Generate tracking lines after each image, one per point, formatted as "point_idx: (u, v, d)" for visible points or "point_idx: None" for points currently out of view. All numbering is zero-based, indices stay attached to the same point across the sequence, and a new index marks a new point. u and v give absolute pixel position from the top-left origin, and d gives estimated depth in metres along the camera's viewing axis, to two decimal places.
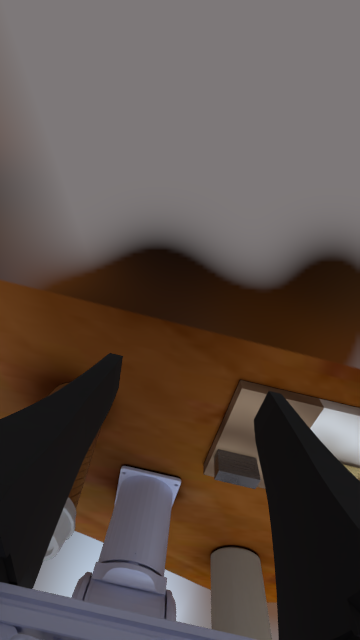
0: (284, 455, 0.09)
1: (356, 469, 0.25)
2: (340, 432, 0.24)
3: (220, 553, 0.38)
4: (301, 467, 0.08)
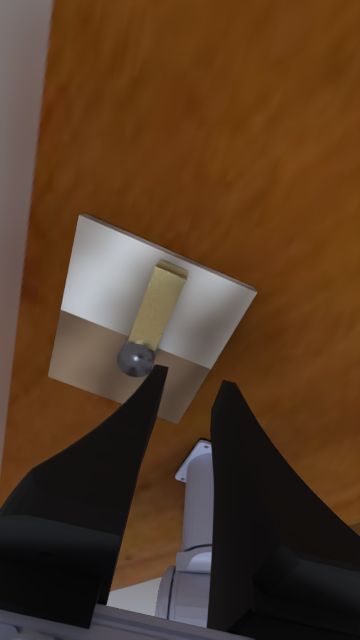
0: (227, 442, 0.09)
1: None
2: (97, 291, 0.19)
3: None
4: (237, 452, 0.08)
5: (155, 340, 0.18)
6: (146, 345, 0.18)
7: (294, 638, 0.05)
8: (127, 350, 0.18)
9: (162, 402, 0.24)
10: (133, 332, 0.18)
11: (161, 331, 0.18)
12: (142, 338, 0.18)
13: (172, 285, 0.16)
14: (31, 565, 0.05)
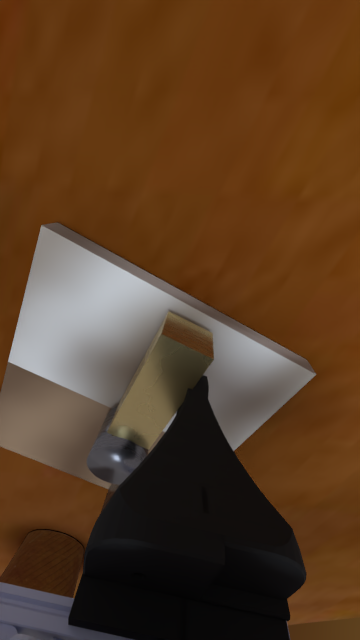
0: None
1: None
2: (66, 343, 0.12)
3: None
4: None
5: (151, 436, 0.11)
6: (136, 441, 0.12)
7: (212, 619, 0.05)
8: (103, 451, 0.11)
9: None
10: (116, 423, 0.11)
11: (161, 426, 0.11)
12: (130, 432, 0.11)
13: (187, 365, 0.09)
14: (118, 584, 0.05)
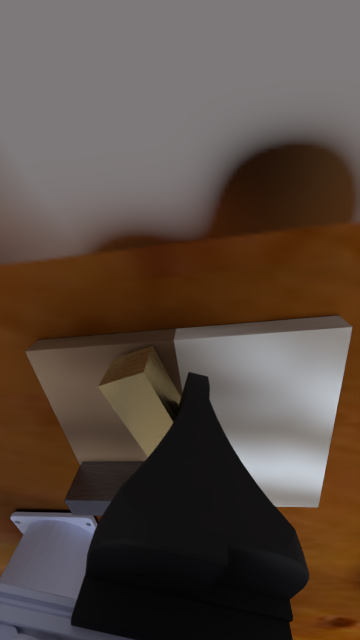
0: None
1: None
2: (237, 378, 0.12)
3: None
4: None
5: None
6: None
7: (214, 620, 0.05)
8: None
9: None
10: None
11: None
12: None
13: (136, 390, 0.10)
14: (120, 585, 0.05)
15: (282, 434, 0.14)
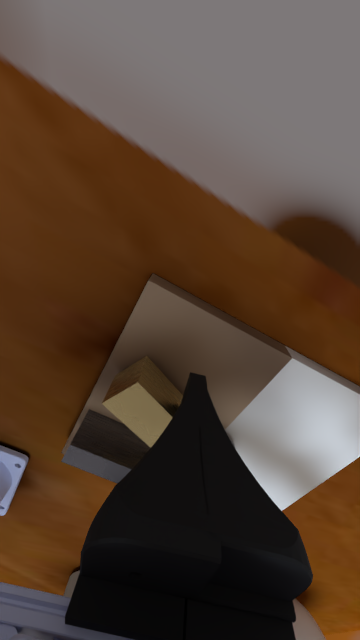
0: None
1: None
2: (304, 413, 0.14)
3: None
4: None
5: None
6: None
7: (218, 621, 0.05)
8: None
9: None
10: None
11: None
12: None
13: (136, 400, 0.11)
14: (115, 584, 0.05)
15: (288, 468, 0.16)
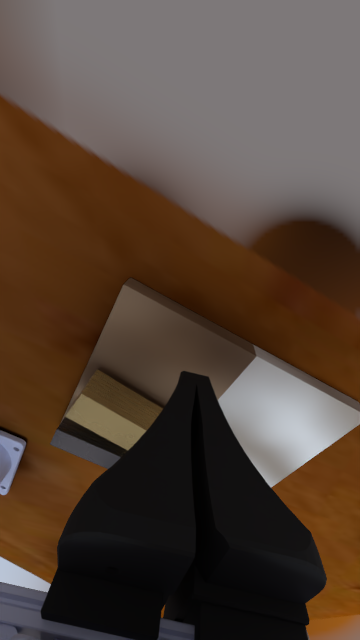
0: (193, 434, 0.09)
1: None
2: (271, 406, 0.15)
3: None
4: (198, 443, 0.08)
5: None
6: None
7: (231, 624, 0.05)
8: None
9: None
10: None
11: None
12: None
13: (88, 408, 0.13)
14: (93, 579, 0.05)
15: (260, 458, 0.17)
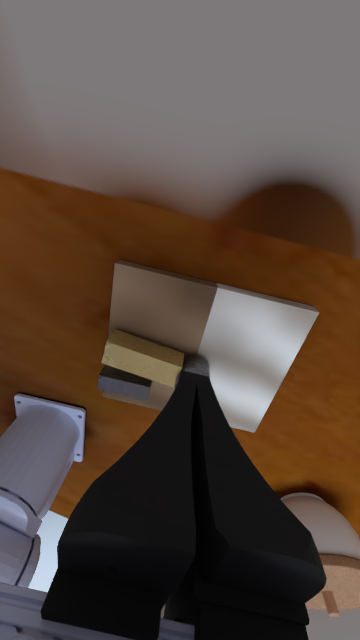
0: (193, 434, 0.09)
1: None
2: (244, 325, 0.20)
3: None
4: (198, 443, 0.08)
5: (170, 366, 0.19)
6: (176, 374, 0.19)
7: (232, 624, 0.05)
8: None
9: None
10: (164, 382, 0.20)
11: (159, 361, 0.19)
12: (169, 376, 0.20)
13: (114, 352, 0.19)
14: (93, 579, 0.05)
15: (254, 372, 0.21)
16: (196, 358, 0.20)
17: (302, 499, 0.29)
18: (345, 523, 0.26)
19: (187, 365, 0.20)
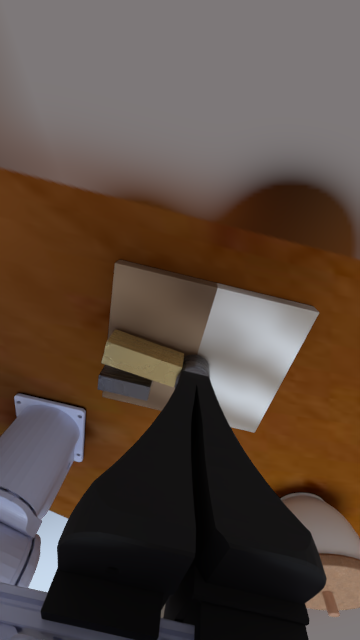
0: (193, 434, 0.09)
1: None
2: (244, 325, 0.20)
3: None
4: (198, 443, 0.08)
5: (170, 366, 0.19)
6: (176, 374, 0.19)
7: (232, 624, 0.05)
8: None
9: None
10: (164, 382, 0.20)
11: (159, 361, 0.19)
12: (169, 376, 0.20)
13: (114, 352, 0.19)
14: (93, 579, 0.05)
15: (254, 372, 0.21)
16: (196, 358, 0.20)
17: (302, 499, 0.29)
18: (345, 523, 0.26)
19: (187, 365, 0.20)
